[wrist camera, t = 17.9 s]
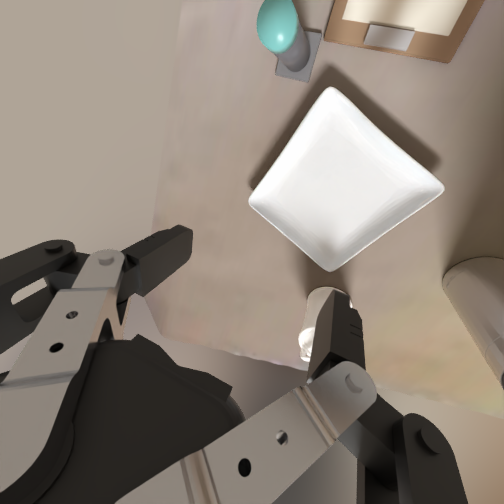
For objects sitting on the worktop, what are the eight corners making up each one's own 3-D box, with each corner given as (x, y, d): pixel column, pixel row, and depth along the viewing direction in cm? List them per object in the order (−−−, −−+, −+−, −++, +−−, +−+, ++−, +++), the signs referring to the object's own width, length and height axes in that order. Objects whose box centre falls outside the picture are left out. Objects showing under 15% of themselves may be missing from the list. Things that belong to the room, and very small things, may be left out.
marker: (315, 38, 28) (300, -6, 19) (305, 75, 30) (287, 51, 21) (288, 33, 29) (261, -11, 20) (280, 69, 31) (253, 44, 22)
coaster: (322, 34, 28) (321, 33, 27) (308, 82, 31) (307, 82, 30) (286, 28, 29) (285, 27, 28) (276, 75, 32) (275, 74, 31)
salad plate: (251, 198, 43) (244, 203, 40) (330, 85, 30) (328, 80, 27) (330, 266, 43) (329, 276, 40) (441, 183, 31) (450, 188, 28)
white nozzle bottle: (329, 278, 44) (318, 364, 28) (362, 307, 44) (370, 408, 28) (295, 302, 50) (270, 383, 34) (324, 327, 50) (313, 419, 34)
